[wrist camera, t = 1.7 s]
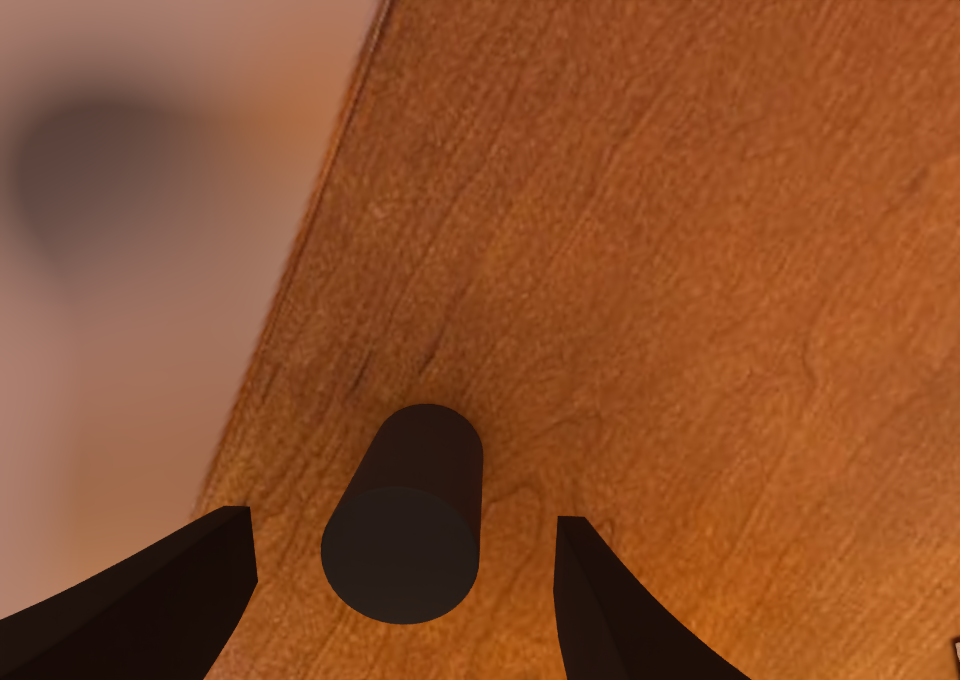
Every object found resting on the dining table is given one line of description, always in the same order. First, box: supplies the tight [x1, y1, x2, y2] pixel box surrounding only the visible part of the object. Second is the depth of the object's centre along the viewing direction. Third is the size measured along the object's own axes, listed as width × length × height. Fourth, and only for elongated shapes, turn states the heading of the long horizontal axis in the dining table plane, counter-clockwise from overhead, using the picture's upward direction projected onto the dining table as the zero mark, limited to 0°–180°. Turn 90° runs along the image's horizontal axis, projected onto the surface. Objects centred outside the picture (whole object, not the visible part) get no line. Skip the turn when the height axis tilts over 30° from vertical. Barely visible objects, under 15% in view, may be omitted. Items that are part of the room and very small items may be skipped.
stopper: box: [321, 404, 483, 624], centre depth 13 cm, size 4×4×5 cm
